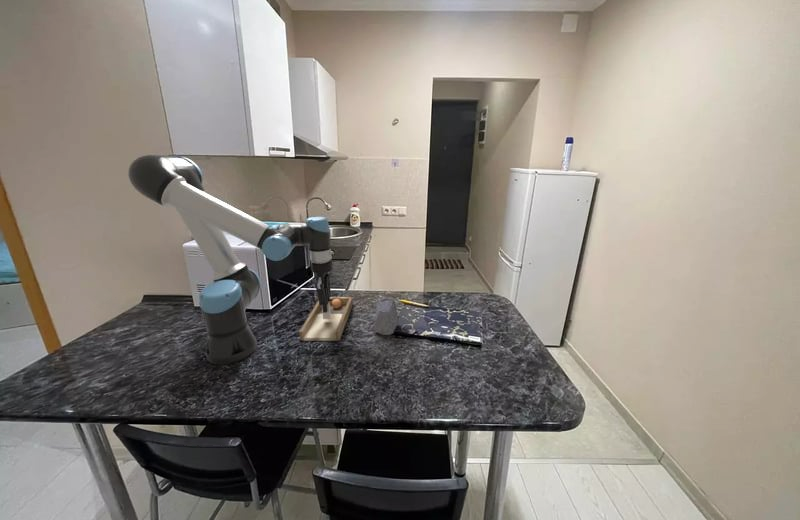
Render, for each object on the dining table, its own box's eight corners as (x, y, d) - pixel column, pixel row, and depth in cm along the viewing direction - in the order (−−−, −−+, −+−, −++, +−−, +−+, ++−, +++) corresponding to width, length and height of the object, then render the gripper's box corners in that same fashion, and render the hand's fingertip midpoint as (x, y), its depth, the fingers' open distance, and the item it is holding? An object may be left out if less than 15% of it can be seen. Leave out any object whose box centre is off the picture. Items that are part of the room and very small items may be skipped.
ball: (333, 299, 132) (333, 308, 132) (330, 299, 128) (330, 308, 128) (342, 298, 132) (342, 307, 132) (339, 298, 128) (340, 308, 128)
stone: (379, 324, 121) (403, 319, 119) (375, 342, 113) (400, 337, 110) (368, 301, 116) (392, 295, 114) (363, 318, 107) (389, 312, 105)
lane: (300, 340, 108) (299, 331, 107) (321, 304, 134) (320, 297, 133) (339, 340, 108) (338, 331, 107) (352, 304, 134) (352, 297, 133)
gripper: (327, 266, 104) (332, 327, 111) (335, 254, 116) (340, 310, 123) (305, 266, 104) (312, 327, 111) (316, 254, 116) (321, 310, 124)
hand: (326, 318), depth 117 cm, fingers closed
